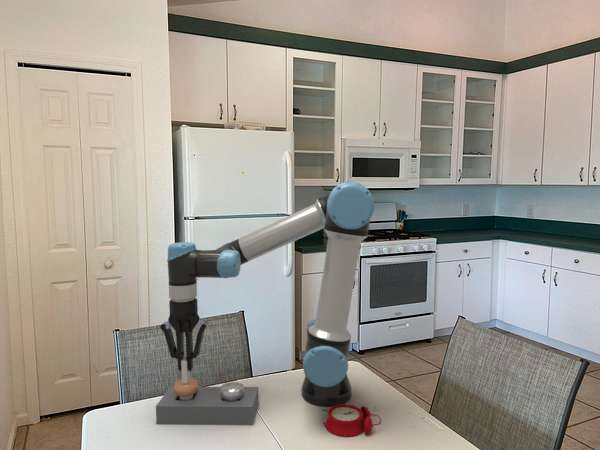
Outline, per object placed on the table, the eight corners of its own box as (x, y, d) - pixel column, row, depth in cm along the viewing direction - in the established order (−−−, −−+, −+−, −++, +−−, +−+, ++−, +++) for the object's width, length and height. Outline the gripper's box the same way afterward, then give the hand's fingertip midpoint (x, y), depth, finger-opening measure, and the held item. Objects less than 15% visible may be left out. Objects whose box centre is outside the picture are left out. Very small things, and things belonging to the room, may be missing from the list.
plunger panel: (258, 403, 131) (258, 387, 131) (252, 425, 119) (252, 406, 119) (171, 402, 132) (170, 386, 132) (156, 424, 120) (155, 406, 120)
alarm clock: (320, 404, 123) (374, 392, 123) (326, 425, 124) (379, 414, 123) (321, 424, 113) (379, 411, 112) (327, 447, 113) (385, 434, 113)
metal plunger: (245, 407, 129) (245, 382, 128) (242, 418, 122) (241, 392, 122) (223, 406, 129) (223, 382, 128) (218, 418, 123) (218, 392, 122)
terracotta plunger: (200, 402, 129) (200, 377, 128) (194, 413, 123) (194, 387, 122) (179, 402, 129) (178, 377, 129) (171, 413, 123) (170, 387, 122)
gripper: (209, 295, 127) (212, 376, 129) (164, 295, 128) (167, 375, 129) (203, 302, 120) (205, 387, 121) (155, 302, 120) (158, 387, 122)
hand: (186, 381), depth 125 cm, fingers closed
